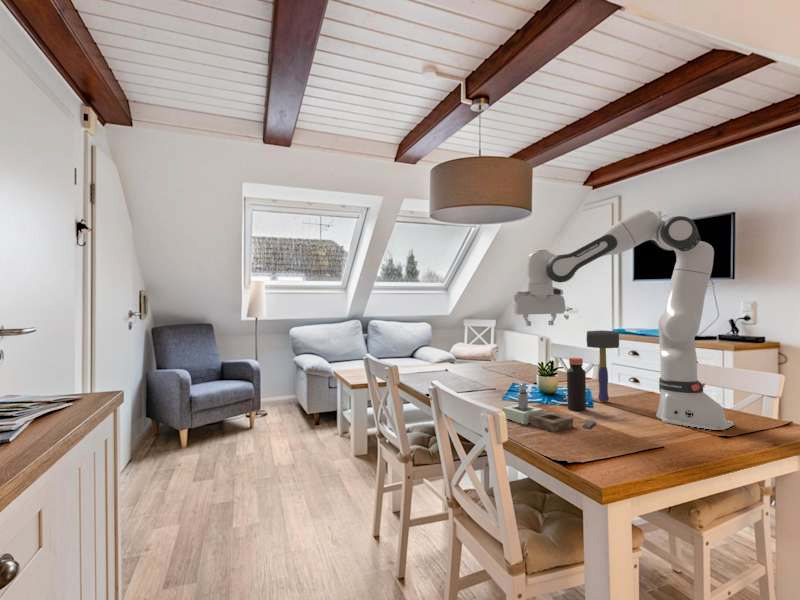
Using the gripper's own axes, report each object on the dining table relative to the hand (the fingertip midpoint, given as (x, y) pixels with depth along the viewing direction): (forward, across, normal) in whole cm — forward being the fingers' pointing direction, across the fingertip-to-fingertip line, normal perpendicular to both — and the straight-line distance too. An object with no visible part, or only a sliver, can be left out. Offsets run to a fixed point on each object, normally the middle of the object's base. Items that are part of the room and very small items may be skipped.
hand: (539, 325), depth 171 cm
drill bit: (+33, -13, -14) cm, 38 cm away
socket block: (+33, -7, -23) cm, 41 cm away
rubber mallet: (+33, +30, +5) cm, 45 cm away
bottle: (+33, +13, -4) cm, 36 cm away
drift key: (+34, +6, -25) cm, 42 cm away
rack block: (+33, -13, -14) cm, 38 cm away
